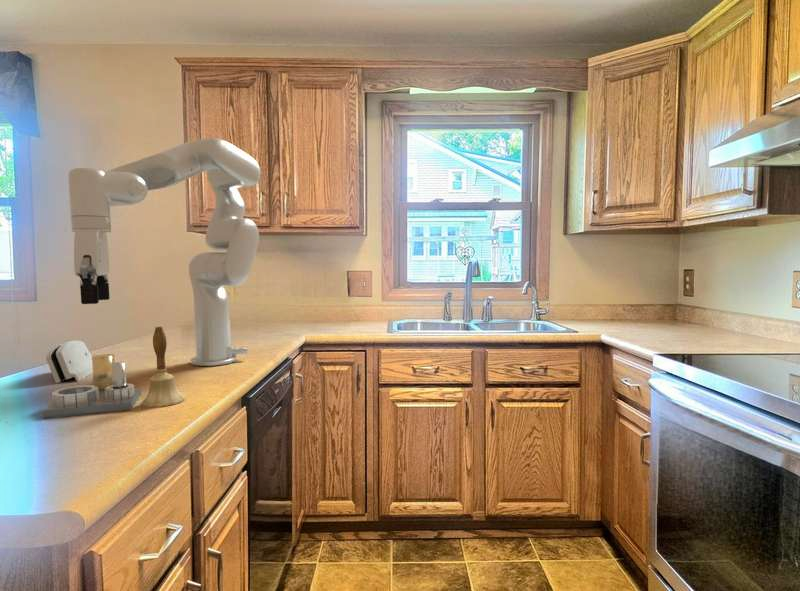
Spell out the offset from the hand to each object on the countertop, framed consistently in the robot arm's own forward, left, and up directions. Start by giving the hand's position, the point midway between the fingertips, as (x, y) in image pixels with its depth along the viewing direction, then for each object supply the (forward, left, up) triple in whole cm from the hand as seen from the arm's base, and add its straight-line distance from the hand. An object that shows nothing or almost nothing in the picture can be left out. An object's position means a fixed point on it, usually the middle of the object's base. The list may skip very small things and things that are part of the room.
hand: (96, 301), depth 113 cm
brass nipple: (-1, 0, -21) cm, 21 cm away
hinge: (+10, -20, -21) cm, 31 cm away
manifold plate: (-2, +13, -21) cm, 24 cm away
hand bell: (-15, +14, -21) cm, 29 cm away
